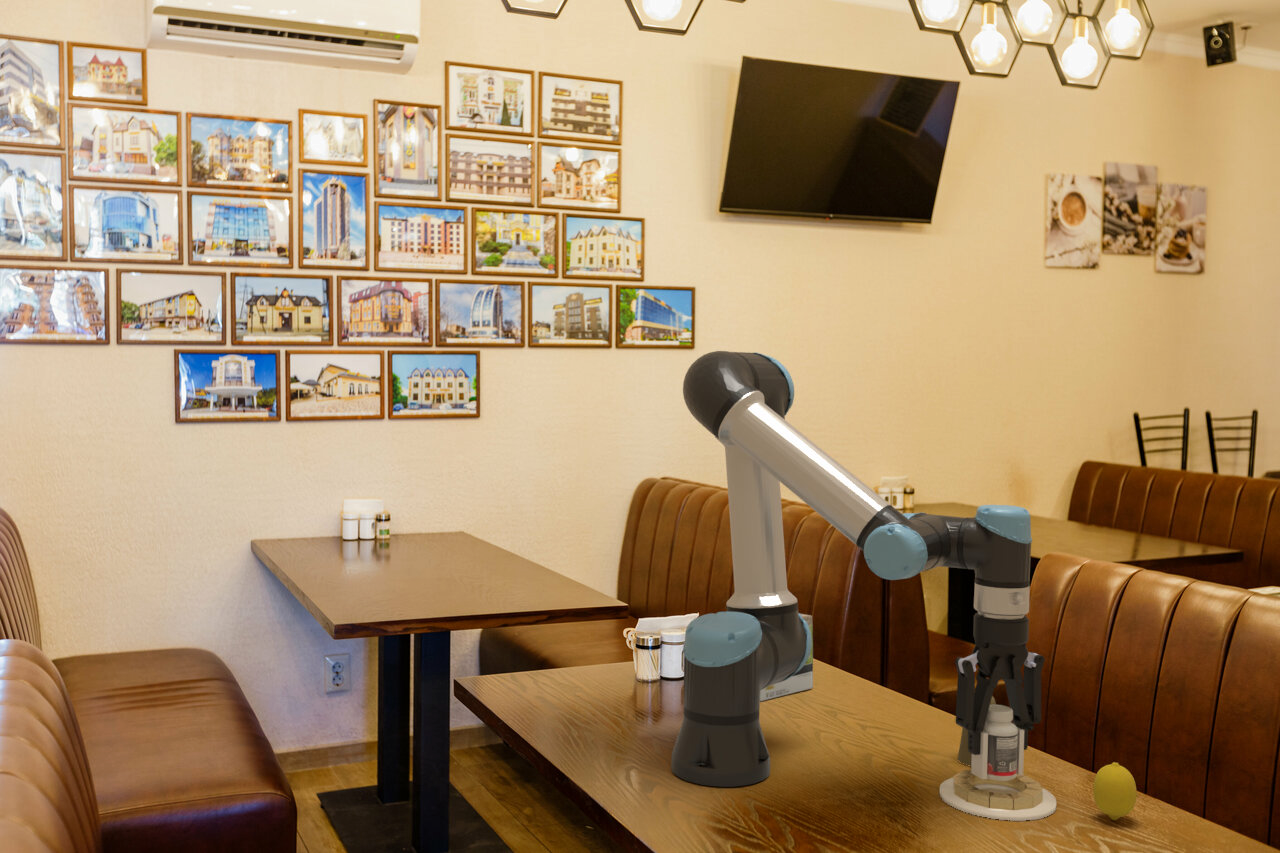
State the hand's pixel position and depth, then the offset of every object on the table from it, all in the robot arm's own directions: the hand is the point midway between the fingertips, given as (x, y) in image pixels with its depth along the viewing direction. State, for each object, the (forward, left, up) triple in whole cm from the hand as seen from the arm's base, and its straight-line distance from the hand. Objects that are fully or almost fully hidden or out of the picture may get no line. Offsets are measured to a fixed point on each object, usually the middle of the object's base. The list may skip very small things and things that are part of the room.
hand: (997, 773), depth 160 cm
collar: (0, 0, -4) cm, 4 cm away
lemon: (+11, -11, -4) cm, 16 cm away
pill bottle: (0, 0, 0) cm, 1 cm away
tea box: (-8, +62, -4) cm, 63 cm away
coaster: (0, 0, -4) cm, 4 cm away
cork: (+7, +15, -4) cm, 17 cm away
